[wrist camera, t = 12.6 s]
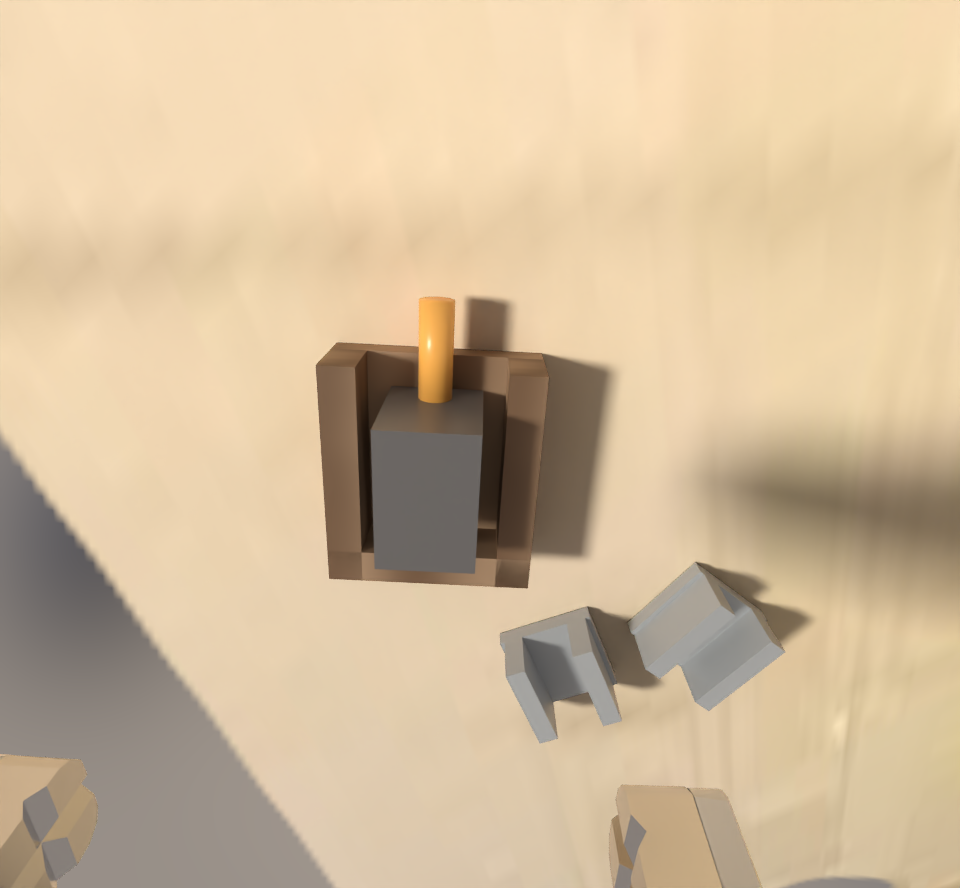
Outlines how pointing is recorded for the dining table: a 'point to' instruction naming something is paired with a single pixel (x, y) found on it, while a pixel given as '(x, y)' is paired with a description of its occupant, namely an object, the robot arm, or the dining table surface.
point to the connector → (428, 460)
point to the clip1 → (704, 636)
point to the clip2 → (559, 669)
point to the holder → (504, 462)
